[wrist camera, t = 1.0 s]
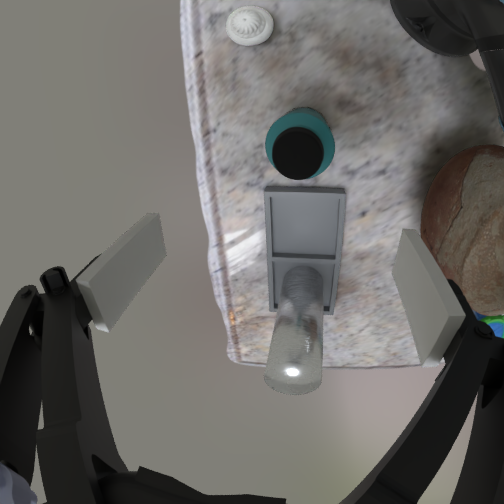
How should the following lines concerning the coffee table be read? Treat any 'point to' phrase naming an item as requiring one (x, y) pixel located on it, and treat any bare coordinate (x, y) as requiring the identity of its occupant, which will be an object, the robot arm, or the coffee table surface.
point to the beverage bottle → (300, 144)
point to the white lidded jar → (249, 25)
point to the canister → (297, 334)
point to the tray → (304, 236)
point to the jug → (469, 225)
